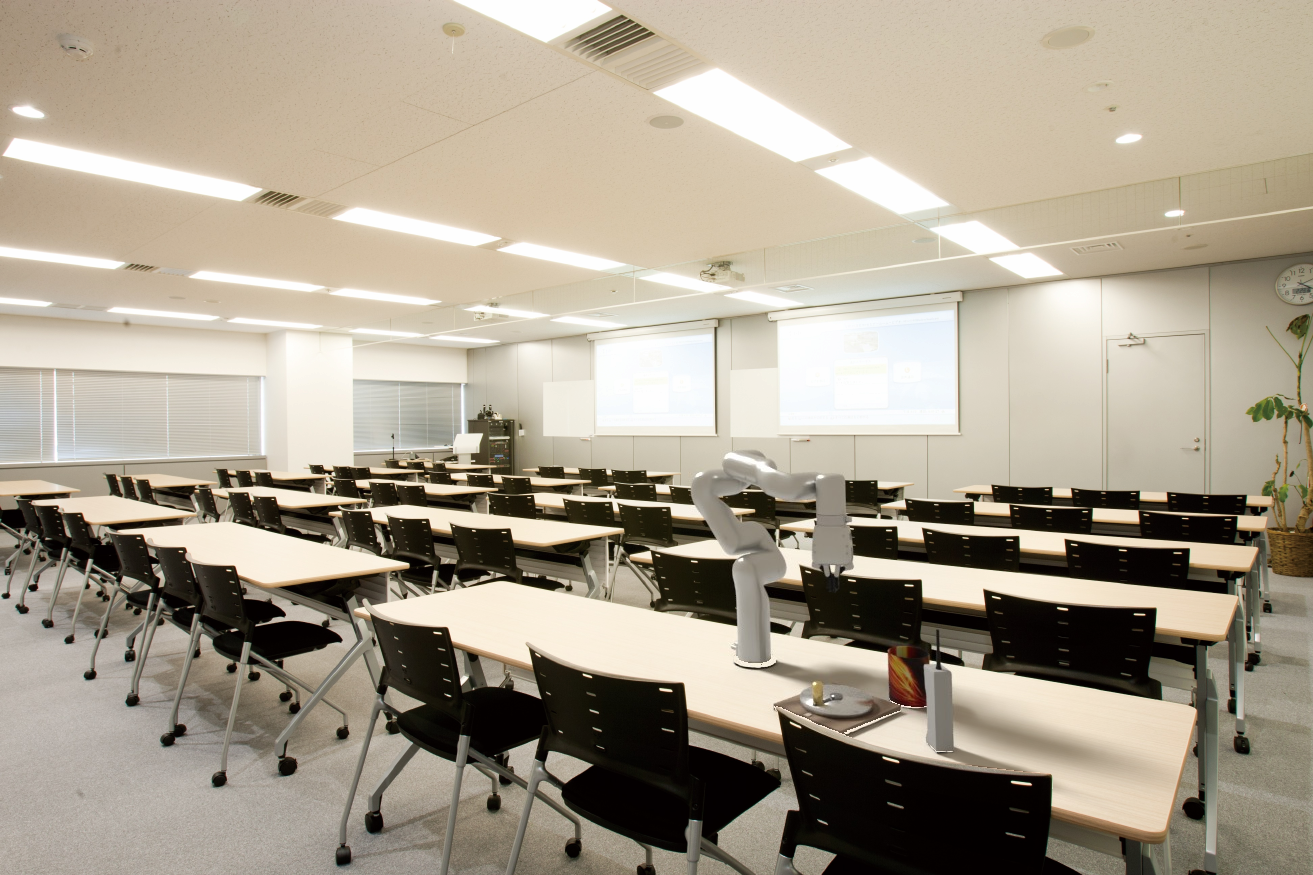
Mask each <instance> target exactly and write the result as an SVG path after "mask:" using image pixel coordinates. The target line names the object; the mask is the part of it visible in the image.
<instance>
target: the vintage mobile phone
mask: <svg viewBox="0 0 1313 875" xmlns="http://www.w3.org/2000/svg"><path fill="white" fill-rule="evenodd" d="M935 634H936V635H935V640H936V643H935V644H936V646H935V647H936V652H935V655H936V656H935V659H936V660H935V662H936V663H932V664H931V663H930V664H924V676H925V689H926V695H927V707H926V721H927V722H926V725H927V728H926V729H927V730H926V735H925V742H926V744H927V743H928V744H930V745H931V746H932V747H933V748H934V749H935V750H936V751H954V752H955V750H954V749H955V744H954V742H955V741H954V706H953V705H954V704H953V673H952V671H951V670H949V669H948V668H946V666H944V665H943V664H941V662H942V660H941V657H942V656H941V649H940V648H941V647H940V644H941V643H940V642H941V641H940V629H938V628H937V629H935ZM928 744H927V745H928Z"/></svg>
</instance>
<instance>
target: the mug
mask: <svg viewBox="0 0 1313 875" xmlns="http://www.w3.org/2000/svg"><path fill="white" fill-rule="evenodd" d="M930 662H931V661H930V652H929V651H928V650H926V649H923V648H921V647H916V646H908V645H901V646H900V645H899V646H892V647H890V648H888V649H887V672H888V674H887V676H888V699H889V698H890V700H891V701H893V702H895V703H897V704H900V705H904V706H911V707H924V706H927V695H926V689H925V676H924V664H931V663H930ZM890 700H889V701H890Z"/></svg>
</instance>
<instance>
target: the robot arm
mask: <svg viewBox="0 0 1313 875" xmlns="http://www.w3.org/2000/svg"><path fill="white" fill-rule="evenodd" d="M777 466H778V465H777V464H776V462H775V461H774V460H772V459H771V458H766V456H765V454H764V453H763V452H762V451H759V450H757V449H741V450H738V449H737V450H733V451H730V452H728V453H726V454H725V456H724V457H723V459H722V462H721V467H722V468H715V469H707V470H706V469H705V470H702V471H700V472H698V473H696V475H695V476H694V477H693V479H692V481H691V485H690V496H691V499H692V502H693V505H694V506H695V508H696V509H697V511H698V512H699V513H700V514H701V517H703V519H704V520H705V521H706V523H707V525H708V527H709V528H710V530H711V533H713V534H712V535H714V537H715V538H716V540H717V542H718V544H719V545H720V547H721V548H722V550H723V551H724V552H725V554H727V555H729V556H739V557H738V558H737V559H736V560H735V561H734V563H733V564H732V570H731V571H732V579H733V582H734V588H735V595H736V596H735V597H736V598H735V599H736V619H737V620H736V623H737V640H735V641H734V642H733V644H731V646H730V649H731V650H733V651H735V655H736V656H738V658H739V660H741V661H744V662H748V663H763V662H767V661H769V660H770V659H771V654H772V650H771V649H772V648H771V647H772V646H771V613H770V612H771V611H770V605H771V604H770V599H769V595H768V592H767V590H766V588H765V586H764V585H767V584H771V583H775V582H778V581H780V580H782V579H783V578H784V577H785V576H786V573H787V571H788V570H787V568H788V567H787V562H786V560H785V557H784V555H783V554H782V552H781V550H780V548H779V546H778V545H777V544H776V543H775V541H774V539H773V538H772V535H771V534H770V533H769V532H768V530H767V529H766V527H765V526H763V525H762V524H761V523H759V522H757V521H753V520H751V521H740V520H739V519H738V518H737V516H736V515H735V513H734V511H733V510H732V509H731V507H730V506H729V505H728V504H727V503H725V502H724V501H722V500H721V499H720V498H719V497H725V496H726V497H727V496H735V495H738V494H739V493H741V492H742V491H744V490H746V489H747V488H748V487H750V486H751V485H753V486H755V487H759V488H760V490H761V491H762V492H763V493H764V494H766V495H767V496H770V497H772V498H776V499H779V500H782V501H785V502H790V503H793V502H794V503H796V502H803V501H811V500H812V501H814V500H815V506H816V507H815V508H816V509H815V510H816V511H815V512H816V525H814V526H813V532H812V539H811V540H812V543H811V559H812V560H811V561H812V562H811V567H812V568H813V569H817V570H820V571H821V572H822V573H823V575H824V576H825V577H826V589H828V592H829V593H837V591H838V590H839V589H840V576H841V575H842V574H843V573H844V572H845V571H851V570H853V569H854V568H855V566H854V562H853V561H854V547H853V537H852V531H851V527H850V525H848V524H849V523H852V522H853V517H852V516H848V514H847V508H846V507H847V503H846V502H847V501H846V498H847V497H846V478H845V476H844V475H843V474H840V473H832V472H831V473H821V472H816V471H806V472H805V471H804V472H794V473H792V472H791V473H790V472H787V471H785V472H784V471H782V470H778V467H777ZM740 555H741V556H740ZM831 566H834V572H832V569H831ZM761 665H762V664H761Z"/></svg>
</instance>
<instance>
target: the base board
mask: <svg viewBox="0 0 1313 875" xmlns="http://www.w3.org/2000/svg"><path fill="white" fill-rule="evenodd" d="M826 685H841V684H839V683H837V682H830V683H828V684H826ZM800 694H801V693H799V694H796V695H794V696H792V697H789V698H786V699H783V700H782V699H781V700H780V701H777V702H775V703H773V711H775V708H774V706H775V707H776V706H778V707H782V708H783V709H786V710H788V711H790V712H792V713H794V714H796V715H799V716H802V717H805V718H807V719H809V720H811V721H812V722H814V723H816V724H818V725H822V726H825V727H827V728H829V729H832V730H835V731H838V732H839V733H842V734H845V733H844V732H847V730H850V729H853V728H856V727H858V726H861V725H863V724H865V723H868V722H871V721H873V720H876V719H878V718H881V717H883V716H886V715H889V714H892V713H894V712H897V711H900V710H901V711H902V707H901V705H898V704H895V703H892V702H890V700H885V699H883V698H880V697H877V696H875V695H871V694H870V695H871V696H872V697H873V700H874V709H873V711H872V712H870V713H869V714H867V715H864V716H861V717H856V718H830V717H825V716H820V715H817V714H814V713H811V712H809V711H807V710H806V709H804V708H803V707H802V706H801V704H800ZM845 735H847V736H848V735H850V734H845Z"/></svg>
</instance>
